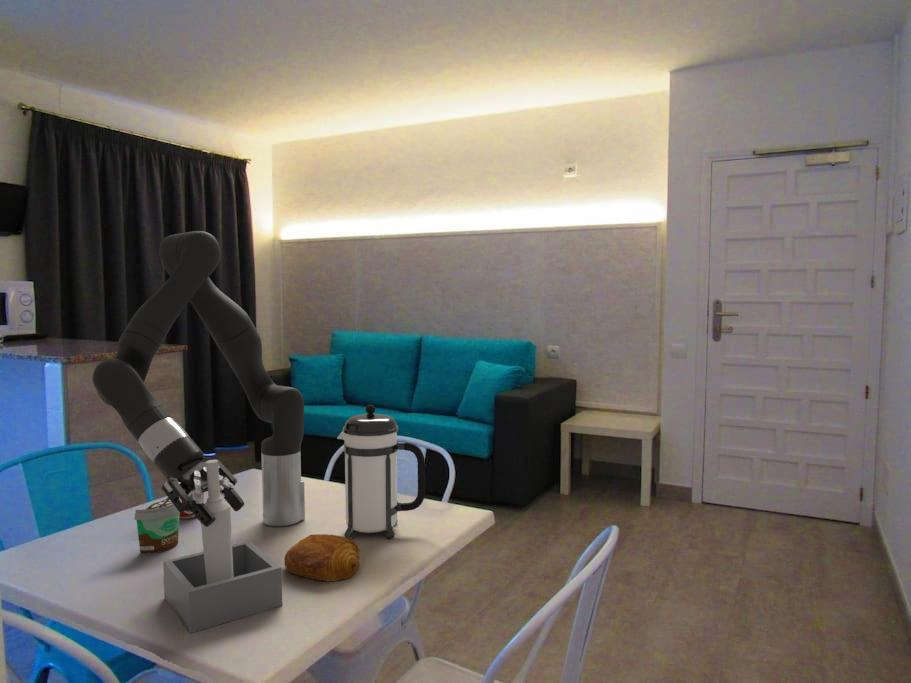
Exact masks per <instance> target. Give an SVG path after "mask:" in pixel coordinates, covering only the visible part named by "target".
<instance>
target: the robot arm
mask: <svg viewBox="0 0 911 683" xmlns="http://www.w3.org/2000/svg"><path fill="white" fill-rule="evenodd" d="M158 249H159V250H158V254H159V259H160V261H161V264H162V266H163V268H164V269H165V271H166V272H167V274H168V275H169V278H168V279H167V280H166V281H165V283H164V284H162V286H160V288H158V290H157V291H156V292H154V294H152V295H151V296H150V297H149V298H148V299H147V300H145V301H144V303H143V304H142V305H140V307H139V308H138V309H137V310H136V312H135V313H134V314H133V316H132V317H131V319H130V321H129V322H128V324H127V326H126V327H125V329H124V331H123V332H122V334H121V335H120V337H119V340H118V342H117V351H116V352H117V353H116V356H115V357H114V358H107V359H105V360H103V361H101V362H99V363H98V364H97V366H96V367H95V368H94V370H93V373H92V384H93V386H94V389H95V390H96V392H97V394H98V396H99V399H101V401H103V403H104V404H106V405H108V406H111V407H112V408H113V409H114V411H116V413H118V415H119V416H120V418H121V420H122V422H123V425H125V427H126V429H127V430H128V431H129V432H130V434H131V435H132V436H133V437H134V438H135V440H136V441H137V442H138V444H139V445H140V447H141V448H142V451H143V452H144V453H145V454H146V456H148V458H149V459H150V461H151V462H152V463H153V464H154V465H155V466H156V468H157V469H158V470H159V471H160V473H161V474H162V475H163V476H164V477H165V479H166V481H165V483H164V484H162V486H161V489H162V491H163V492H164V494H165V495H166V496H167V498H169V499H170V500H171V502H172V503H173V504H174V506H175V507H176V508H177V510H178V511H179V512H181V513H183V512H184V511H189V512H193V514H194V515H195V516H196V517H195V518H197V519H198V521H199V522H200V524H201V523H202V524H203V525H204V526H206V527H208V526H210V525H211V524H212V523H213V522H214V521H215V516H214V515H213V514H212V513H211V512H210V510H209V509H208V508H207V507H206V506H205V502H204V503H201V497H200V493H202V492H204V493H206V492H208V482H207V472H206V461H204V452H203V451H202V450H201V448H200V447H199V446H198V445H197V443H196V442H195V441H194V440H193V438H191V436H190V435H189V434H188V432H186V430H185V429H184V428H183V426H182V425H180V424H179V422H177V421H176V420H175V419H174V418H173V417H172V416H171V415H170V413H168V411H167V410H166V409H165V407H164V406H163V405H162V404H161V403H160V402H159V401H158V400H157V399H156V397H154V395H153V394H152V393H151V391H150V389H149V388H148V386H147V385H146V383H145V380H146V378H147V376H148V373H149V370H150V367H151V364H152V361H153V359H154V357H155V356H156V354H157V353H158V351H159V350H160V347H161V346H162V344H163V342H164V340H165V339H166V338H167V335H168V334H169V332H170V330H171V328H172V326H173V325H174V323H175V322H176V320H177V318H178V317H179V316H180V314H181V313H182V311H183V310H184V309H185V307H186V306H187V305H188V304H189V303H190V304H191V306H192V307H193V309H194V310H195V312H196V314H197V315H198V316H199V318H200V319H201V321H202V323H203V324H204V326H205V328H206V330H207V331H208V333H209V334H210V336H211V338H212V339H213V341H214V343H215V344H216V346H217V347H218V349H219V351H220V353H221V354H222V355H223V357H224V358H225V360H226V361H227V363H228V365H229V366H230V368H231V370H232V371H233V374H234V375H235V376H236V378H237V380H238V381H239V384H240V385H241V386H242V389H243V390H244V393H245V395H246V398H247V400H248V401H249V404H250V406H251V408H252V410H253V412H254V413H255V415H256V416H257V417H258V419H259V420H261V421H263V422H265V423H269V424H273V425H272V426H273V427H272V435H271V436H269V437H267V438H265V439H263V440H262V441H261V445H260V446H261V448H260V449H261V482H262V483H261V488H262V490H261V491H262V492H261V493H262V495H261V496H262V522H263V524H264V525H266V526H268V527H269V526H270V527H286V526H287V527H288V526H292V525H295V524H297V523H299V522H301V521H304V520H305V519H306V509H305V508H306V503H305V502H306V501H305V498H306V497H305V492H306V491H305V481H304V480H303V479H302V467H301V465H302V463H301V462H302V460H301V457H302V456H301V444H302V441H303V439H304V430H305V429H304V428H305V427H304V426H305V403H304V402H305V401H304V398H303V394H302V393H301V392H300V390H298V389H297V388H295V387H291V386H285V385H277V384H276V383H275V382H274V381H273V379H272V378H271V377H270V375H269V374H268V372H267V370H266V369H265V366H264V363H263V362H264V361H263V344H262V338H261V336H260V333H259V331H258V330H257V328H256V327H255V325H254V322H253V321H252V319H251V317H250V316H249V315H248V313H247V312H246V311H245V310H244V309H243V308H242V307H241V306H240V305H239V304H237V302H235V301H233V299H231V298H230V297H229V296H228V295H226V294H225V293H224V292H222V291H221V290H220V289H219V288H218V287H217V285H215V284H214V282H213V281H212V280H211V278H210V276H211V275H212V274H213V272H214V271H215V270H216V268H217V267H218V265H219V263H220V260H221V253H222V252H221V246H220V244H219V241H218V240H217V239H216V237H215V236H214V235H212V234H211V233H209V232H207V231H203V230H191V231H187V232H180V233H175V234H170V235H168V236H166V237H164V238H163V239H162V240H161V242H160V244H159V248H158ZM215 460H218V469H219V471H218V473H219V487H220V496H222V497H223V498H224V499H223V500H224V501H225V502H227V503H228V504H230V508H232V510H233V511H235V512H238V511H241V509H242V508H243V507H244V506H245V502H244V499H243V498H242V497H241V496H240V495H239V493H238V492H237V491H236V490H235V489H234V486H235V485H236V484H237V483H238V479H237V478H236V477H235V476H234V474H232V472H231V471H230V470H229V469H228V468H227V467H226V466H225V465H224V463H223V462H221V461H220V460H219V459H215ZM225 478H226V479H228V480H226V479H225ZM179 497H180V498H181V499H182V500H183V503H181V501H180V500H179ZM200 503H201V504H200Z"/></svg>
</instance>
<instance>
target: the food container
mask: <svg viewBox="0 0 911 683" xmlns="http://www.w3.org/2000/svg"><path fill="white" fill-rule="evenodd" d="M179 500H180V501H181V499H180V497H179ZM181 503H182V501H181ZM179 514H180V512H179V511H178V510H177V508H176V507H175V506H174V504H173V503H172V502H171V500H170V499H169V498H168V497H167V498H165V499H163V500H161V501H157V502H154V503H152V504H151V505H149V506H148V507H146V508H145V509H135V512H134V521H136V527H137V535H138V544H139V545H138V546H139V552H140V555H141V554H145V555H148V554H156V553H162V552H166V551H169V550H171V549H173V548H175V547H176V546H178V544H179V531H180V530H179V529H180V528H179V527H180V518H179Z"/></svg>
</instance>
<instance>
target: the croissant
mask: <svg viewBox="0 0 911 683" xmlns="http://www.w3.org/2000/svg"><path fill="white" fill-rule="evenodd" d="M360 551H361V548H360V547H359V545H358V544H357V543H356V542H355V541H354V540H352V539H348V538H346V537H345V536H342V535H341V536H340V535H335V534H321V533H319V534H316V533H315V534H309V535H307V536H306V537H304V538H302V539H301V540H299V541H298V543H295V544H294V545H293V546H291V547H290V548H289V549H288V550H287V552H286V553H285V556H284V566H285V567H286V570H287V571H288V572H290V573H292V574H295V575H298V576H301V577H304V578H308V579H312V580H317V581H322V582H323V581H327V582H334V581H335V582H336V581H337V582H338V581H340V580H347V579H348V578H351V577H353V575H354V574H355V573H356V572H357V570H359V567H360V562H359V561H360V558H361V557H360Z"/></svg>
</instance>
